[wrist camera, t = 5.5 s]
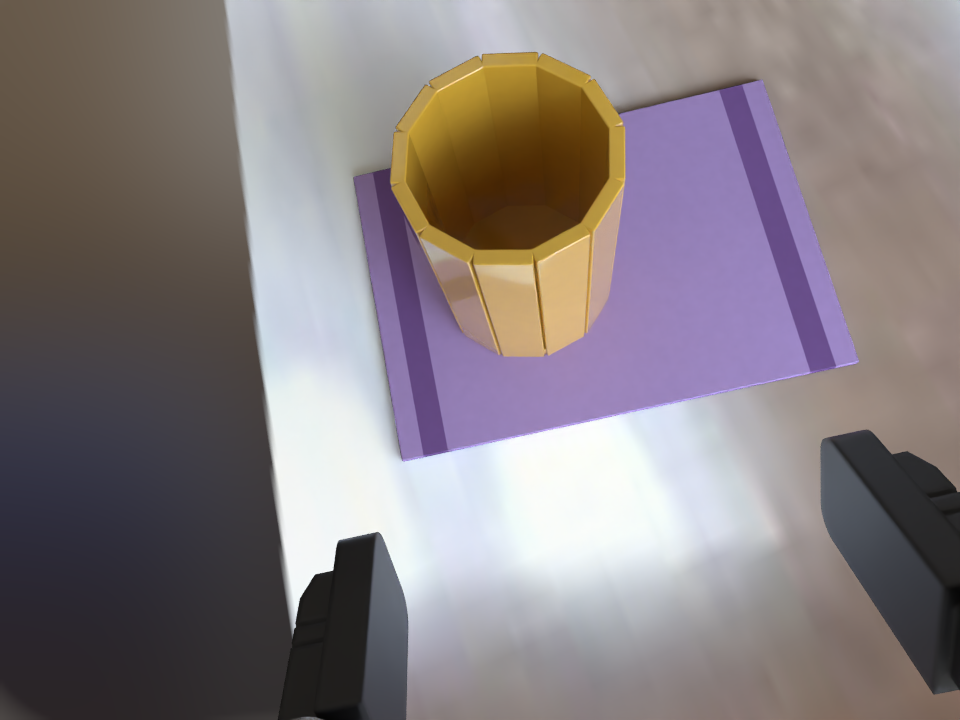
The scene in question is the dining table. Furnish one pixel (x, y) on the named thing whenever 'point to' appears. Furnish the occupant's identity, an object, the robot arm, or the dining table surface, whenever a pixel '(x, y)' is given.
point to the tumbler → (514, 197)
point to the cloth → (629, 290)
